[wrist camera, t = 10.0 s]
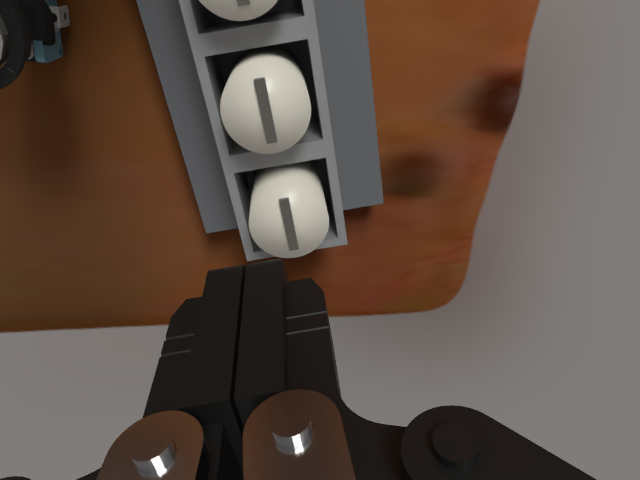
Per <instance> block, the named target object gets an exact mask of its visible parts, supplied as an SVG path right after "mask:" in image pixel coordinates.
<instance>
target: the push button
mask: <svg viewBox="0 0 640 480" xmlns="http://www.w3.org/2000/svg"><path fill="white" fill-rule="evenodd" d="M64 12H65V13H66V20H65V19H64ZM69 24H70V19H69V9H68V6H67V5H64V6H59V7H57V0H0V66H1V65H4V66H3V67H2V69H1V70H0V89H2V88H4V87H6V86H8V85H9V84H11V83H12V82H13V81H14V80H15V79H16V78H17V77H18V76H19V74H20V72H21V71H22V69H23V67H24V64H25V62H26V61H33V62H42V63H49V62H51V61H53V60H56V59H58V58H61V57H62V56H63V46H62V43H61V34H60V28H61V27H62V28H63V27H67V26H69Z"/></svg>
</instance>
